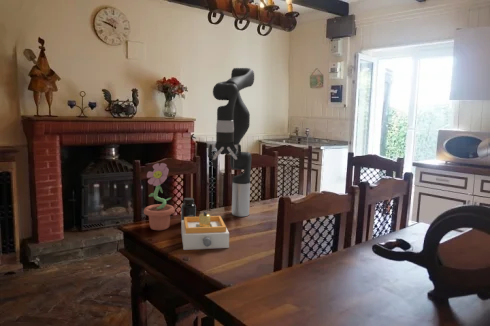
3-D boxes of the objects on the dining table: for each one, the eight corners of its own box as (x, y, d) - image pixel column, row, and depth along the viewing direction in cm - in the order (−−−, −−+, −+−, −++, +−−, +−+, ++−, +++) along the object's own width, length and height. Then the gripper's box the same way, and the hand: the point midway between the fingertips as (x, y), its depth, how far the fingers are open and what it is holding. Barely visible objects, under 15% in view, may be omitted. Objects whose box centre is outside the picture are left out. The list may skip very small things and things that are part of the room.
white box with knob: (181, 233, 168) (181, 215, 166) (221, 231, 171) (222, 214, 170) (183, 252, 145) (184, 232, 144) (230, 250, 149) (230, 230, 148)
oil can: (198, 234, 161) (199, 210, 160) (209, 233, 162) (209, 209, 161) (199, 237, 157) (199, 212, 155) (210, 237, 158) (211, 212, 156)
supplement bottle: (189, 226, 178) (189, 201, 177) (178, 223, 182) (178, 199, 180) (198, 222, 184) (198, 198, 182) (187, 220, 188) (187, 196, 186)
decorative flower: (135, 229, 172) (134, 163, 167) (156, 221, 184) (155, 160, 180) (161, 234, 165) (161, 166, 161) (180, 226, 177) (181, 163, 173)
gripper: (239, 130, 168) (239, 166, 171) (207, 129, 165) (207, 166, 168) (242, 131, 161) (242, 169, 163) (209, 131, 158) (209, 169, 161)
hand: (224, 167), depth 166 cm, fingers open, 8 cm apart
